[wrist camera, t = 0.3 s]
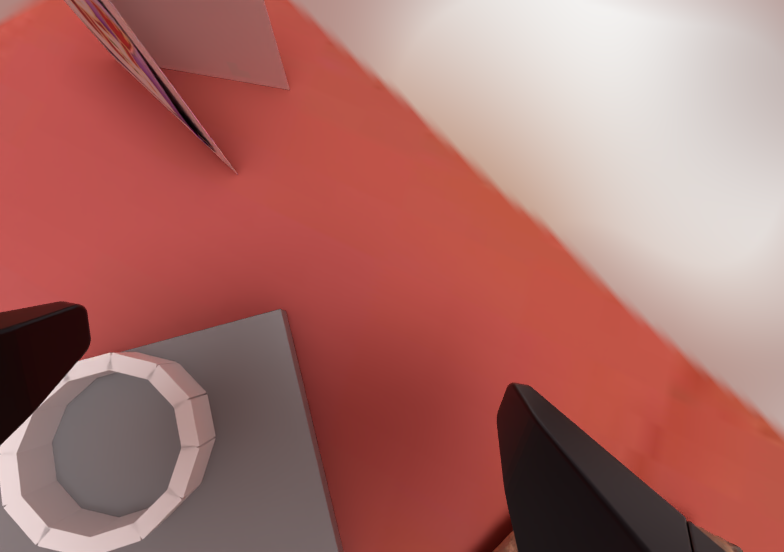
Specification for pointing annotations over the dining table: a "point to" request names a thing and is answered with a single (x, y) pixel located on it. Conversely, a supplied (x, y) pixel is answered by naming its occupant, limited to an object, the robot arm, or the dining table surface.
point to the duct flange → (173, 452)
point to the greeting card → (187, 45)
